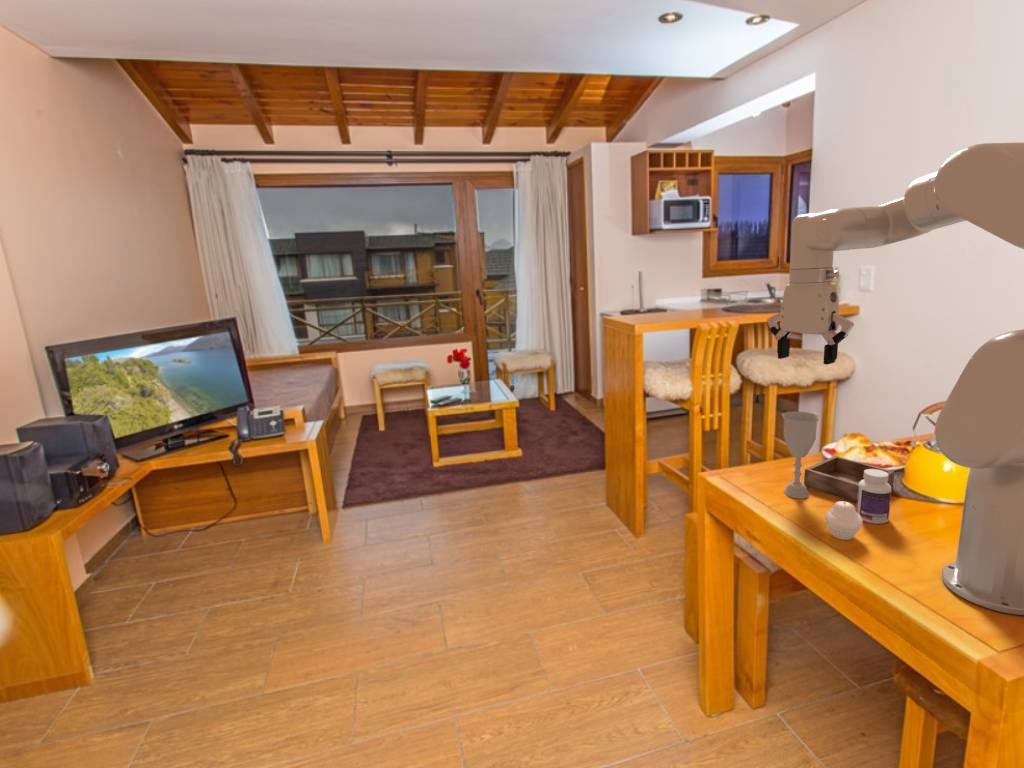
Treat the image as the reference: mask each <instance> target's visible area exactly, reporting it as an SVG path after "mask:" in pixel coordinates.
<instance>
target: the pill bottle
mask: <svg viewBox="0 0 1024 768" xmlns="http://www.w3.org/2000/svg"><path fill="white" fill-rule="evenodd" d="M888 476H889V475H888V473H887V472H885V471H882V470H877V469H867V470H865V471H864V475H863V478H864V479H863V480H861V481H860V482H859V485H858V496H857V503H856V508H855V511H856V512H857V514H859V515H860V516H861V518H862V520H863V522H866V523H869V524H872V525H873V524H875V525H880V524H881V525H882V524H887V523H888V521H889V520H890V510H891V509H890V507H891V498H892V489H891V486H890V485H889V484H888V483H887V482H888Z"/></svg>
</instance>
